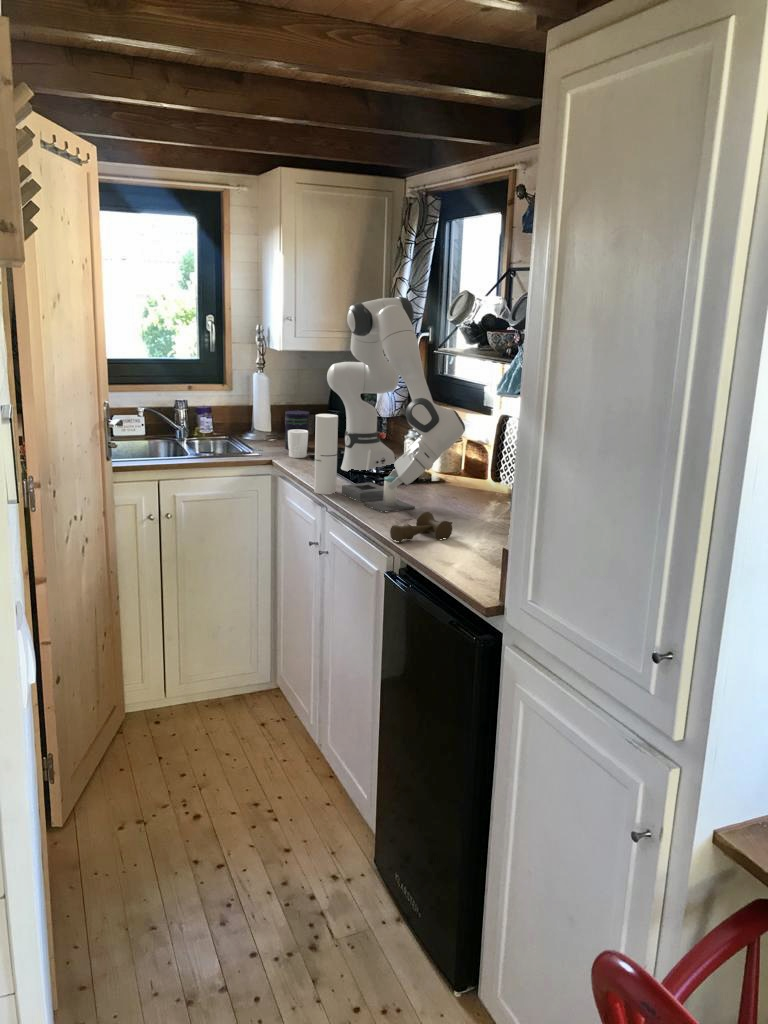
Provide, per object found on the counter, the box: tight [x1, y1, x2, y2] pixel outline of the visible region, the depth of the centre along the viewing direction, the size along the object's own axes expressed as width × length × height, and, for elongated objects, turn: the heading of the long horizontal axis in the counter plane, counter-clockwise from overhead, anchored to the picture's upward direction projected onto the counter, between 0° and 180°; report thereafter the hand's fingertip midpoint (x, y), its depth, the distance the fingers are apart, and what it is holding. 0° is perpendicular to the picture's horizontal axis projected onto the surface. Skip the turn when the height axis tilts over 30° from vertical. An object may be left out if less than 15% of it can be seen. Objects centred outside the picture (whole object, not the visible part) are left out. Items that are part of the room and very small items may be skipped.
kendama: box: [389, 511, 453, 543], centre depth 228 cm, size 6×10×20 cm
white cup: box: [288, 429, 309, 459], centre depth 326 cm, size 8×8×10 cm
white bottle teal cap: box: [382, 475, 398, 506], centre depth 258 cm, size 4×4×8 cm
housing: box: [341, 481, 384, 502], centre depth 270 cm, size 11×11×3 cm
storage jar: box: [284, 409, 310, 451], centre depth 340 cm, size 10×10×15 cm
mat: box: [364, 498, 416, 513], centre depth 259 cm, size 12×10×1 cm
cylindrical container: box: [313, 413, 339, 495], centre depth 271 cm, size 7×7×25 cm
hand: (388, 484), depth 257 cm, fingers open, 7 cm apart
